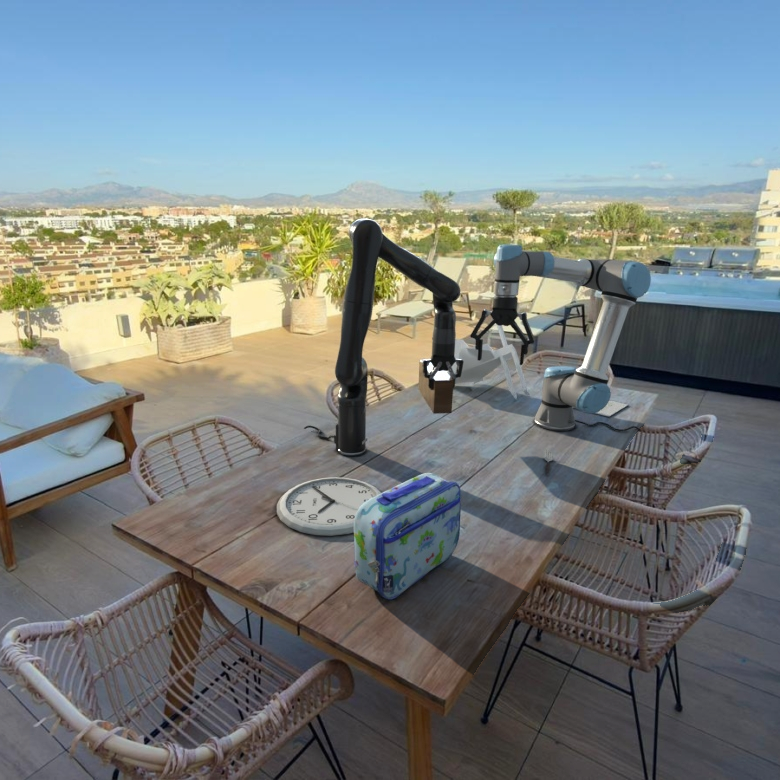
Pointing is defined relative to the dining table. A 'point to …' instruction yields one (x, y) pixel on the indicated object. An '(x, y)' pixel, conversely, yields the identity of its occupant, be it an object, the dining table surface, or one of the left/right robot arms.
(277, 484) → the dining table surface
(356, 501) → the wall clock
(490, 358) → the white plastic object
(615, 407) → the invitation card
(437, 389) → the box
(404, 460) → the dining table surface
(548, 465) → the fork
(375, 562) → the lunch box
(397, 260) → the left robot arm
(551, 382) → the right robot arm
